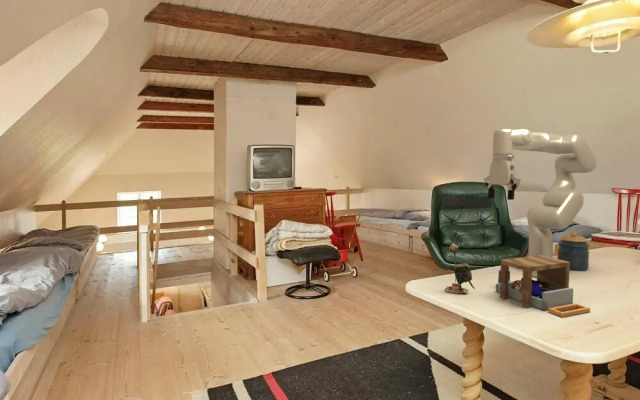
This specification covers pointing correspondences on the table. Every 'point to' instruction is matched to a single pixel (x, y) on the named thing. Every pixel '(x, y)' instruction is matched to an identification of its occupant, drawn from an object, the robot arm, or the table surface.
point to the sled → (548, 298)
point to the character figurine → (534, 287)
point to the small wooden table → (546, 272)
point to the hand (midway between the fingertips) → (500, 198)
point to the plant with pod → (459, 274)
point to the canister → (574, 251)
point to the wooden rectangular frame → (569, 310)
